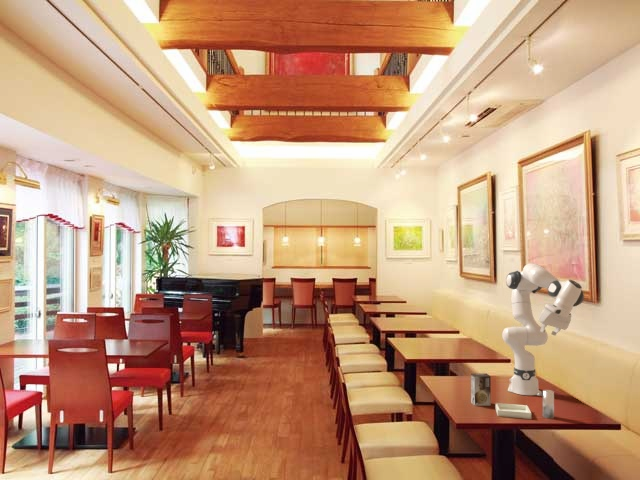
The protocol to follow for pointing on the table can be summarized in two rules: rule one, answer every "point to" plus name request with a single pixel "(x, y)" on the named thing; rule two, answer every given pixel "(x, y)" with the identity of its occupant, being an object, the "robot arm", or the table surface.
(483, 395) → the coffee box
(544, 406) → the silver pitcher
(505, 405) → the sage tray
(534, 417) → the table surface
